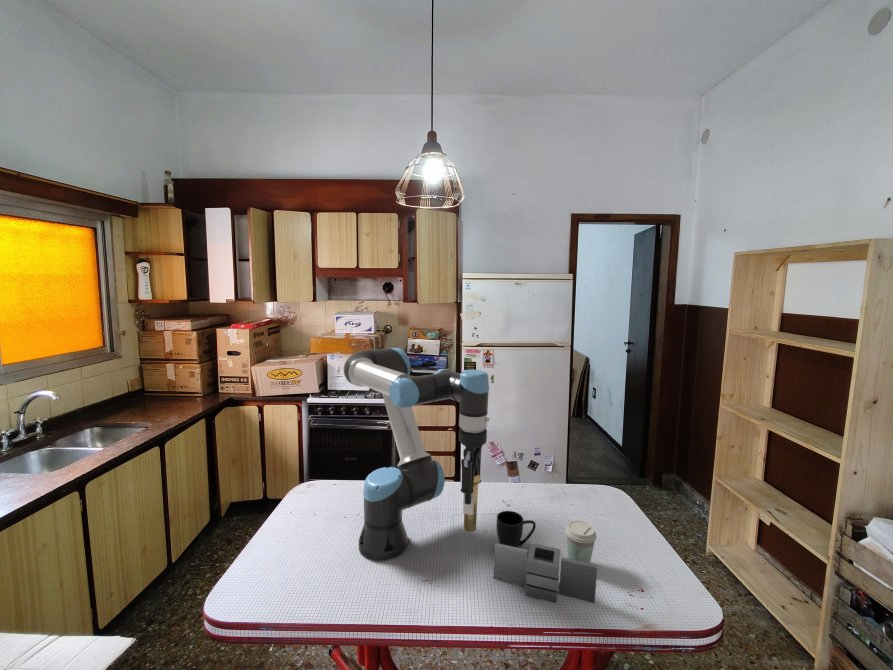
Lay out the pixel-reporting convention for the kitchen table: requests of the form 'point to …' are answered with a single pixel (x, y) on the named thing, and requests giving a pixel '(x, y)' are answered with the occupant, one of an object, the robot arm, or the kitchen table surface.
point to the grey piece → (518, 568)
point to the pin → (471, 519)
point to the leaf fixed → (561, 575)
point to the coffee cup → (580, 540)
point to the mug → (512, 528)
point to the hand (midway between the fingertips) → (470, 509)
